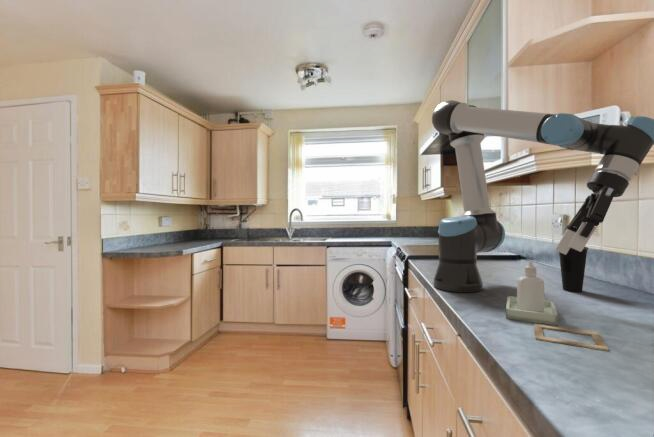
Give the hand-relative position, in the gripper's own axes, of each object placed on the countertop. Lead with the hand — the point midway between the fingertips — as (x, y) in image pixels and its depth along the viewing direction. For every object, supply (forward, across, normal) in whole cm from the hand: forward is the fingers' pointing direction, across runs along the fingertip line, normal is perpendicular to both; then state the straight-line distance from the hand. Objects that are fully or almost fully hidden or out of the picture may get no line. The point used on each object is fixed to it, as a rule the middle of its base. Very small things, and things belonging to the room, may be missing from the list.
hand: (566, 250), depth 82 cm
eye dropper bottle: (+18, -6, +1) cm, 19 cm away
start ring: (+19, -19, -4) cm, 27 cm away
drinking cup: (+6, +25, -11) cm, 28 cm away
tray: (+18, -6, +1) cm, 19 cm away
